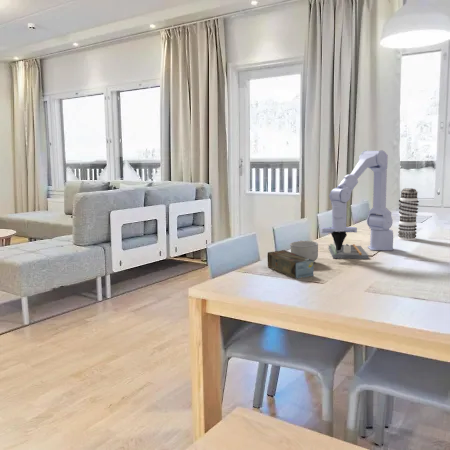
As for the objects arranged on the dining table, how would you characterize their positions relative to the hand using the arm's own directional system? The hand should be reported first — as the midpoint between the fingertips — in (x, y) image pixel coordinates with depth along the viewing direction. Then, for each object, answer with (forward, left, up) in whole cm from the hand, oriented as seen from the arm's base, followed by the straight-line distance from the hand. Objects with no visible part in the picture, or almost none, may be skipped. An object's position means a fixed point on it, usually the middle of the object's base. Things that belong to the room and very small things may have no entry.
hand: (338, 249), depth 191 cm
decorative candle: (-38, -44, -3) cm, 59 cm away
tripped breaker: (-3, 0, -1) cm, 4 cm away
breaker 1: (0, -13, -1) cm, 13 cm away
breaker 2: (0, -6, -1) cm, 7 cm away
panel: (-4, -6, -3) cm, 8 cm away
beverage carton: (+20, +27, -3) cm, 33 cm away
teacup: (+15, +11, -3) cm, 18 cm away
